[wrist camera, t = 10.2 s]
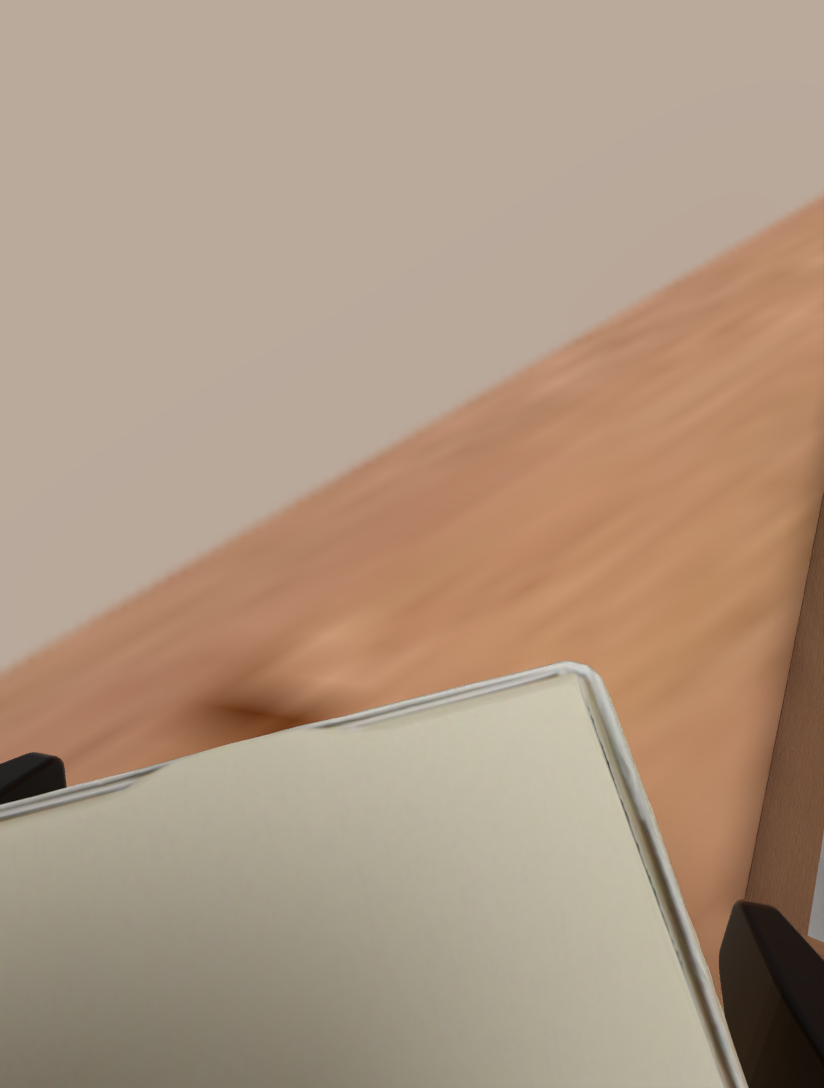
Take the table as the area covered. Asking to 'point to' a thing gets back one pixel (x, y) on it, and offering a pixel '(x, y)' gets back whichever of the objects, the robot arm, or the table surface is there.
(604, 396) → the table surface
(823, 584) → the socket block
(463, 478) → the table surface
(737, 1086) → the skincare box
